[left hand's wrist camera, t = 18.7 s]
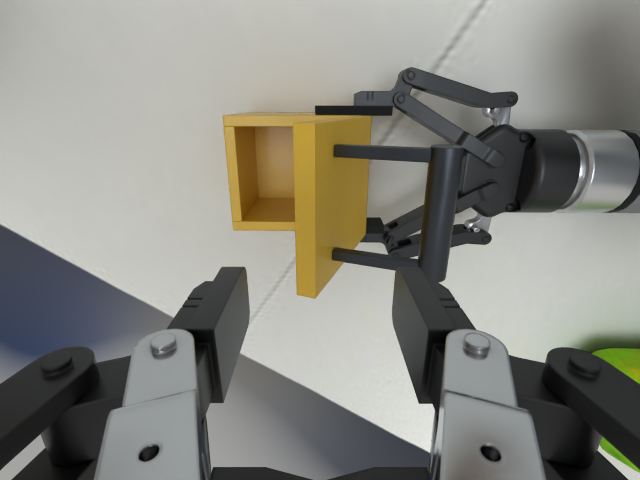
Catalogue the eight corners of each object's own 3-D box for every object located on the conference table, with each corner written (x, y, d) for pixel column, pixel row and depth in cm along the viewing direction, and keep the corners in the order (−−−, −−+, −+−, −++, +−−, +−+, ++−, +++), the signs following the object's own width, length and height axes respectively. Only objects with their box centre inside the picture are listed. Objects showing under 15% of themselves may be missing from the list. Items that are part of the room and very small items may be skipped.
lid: (296, 295, 21) (439, 324, 19) (292, 122, 18) (468, 126, 15) (352, 232, 32) (449, 245, 29) (356, 115, 28) (468, 117, 25)
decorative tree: (495, 445, 41) (791, 343, 35) (464, 380, 51) (691, 291, 44) (544, 533, 46) (811, 458, 40) (508, 458, 56) (717, 388, 50)
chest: (253, 202, 41) (233, 230, 32) (247, 112, 38) (222, 115, 29) (351, 203, 41) (358, 231, 32) (354, 112, 38) (363, 115, 29)
